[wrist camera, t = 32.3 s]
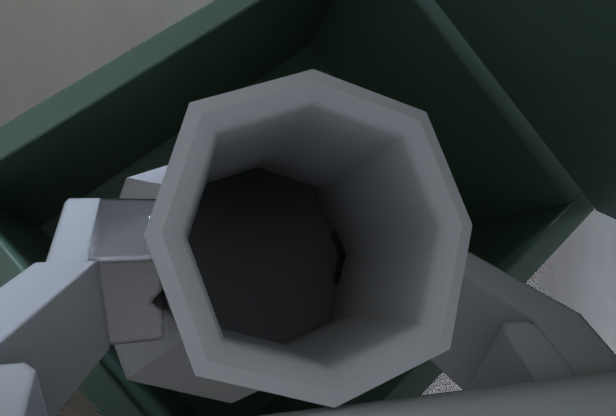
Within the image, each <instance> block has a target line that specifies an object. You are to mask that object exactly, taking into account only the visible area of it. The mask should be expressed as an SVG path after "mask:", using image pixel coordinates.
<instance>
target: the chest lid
mask: <svg viewBox="0 0 616 416" xmlns="http://www.w3.org/2000/svg"><path fill="white" fill-rule="evenodd" d="M435 1H436V3H437V4H438V5H439V6H440V8H441V9H442V10H443V12H444V13H445V14H446V16H447V17H448V18H449V19H450V21H451V22H452V23H453V25H454V26H455V27H456V28H457V30H458V31H459V32H460V34H461V35H462V36H463V38H464V39H465V40H466V41H467V43H468V44H469V45H470V47H471V48H472V49H473V51H474V52H475V53H476V54H477V56H478V57H479V58H480V60H481V61H482V62H483V64H484V65H485V66H486V67H487V69H488V70H489V71H490V73H491V74H492V75H493V76H494V78H495V79H496V80H497V82H498V83H499V84H500V86H501V87H502V88H503V89H504V91H505V92H506V93H507V95H508V96H509V97H510V99H511V100H512V101H513V102H514V104H515V105H516V106H517V108H518V109H519V110H520V111H521V113H522V114H523V115H524V117H525V118H526V119H527V121H528V122H529V123H530V124H531V126H532V127H533V128H534V130H535V131H536V132H537V134H538V135H539V136H540V137H541V139H542V140H543V141H544V143H545V144H546V145H547V147H548V148H549V149H550V150H551V152H552V153H553V154H554V156H555V157H556V158H557V159H558V161H559V162H560V163H561V165H562V166H563V167H564V169H565V170H566V171H567V172H568V174H569V175H570V176H571V178H572V179H573V180H574V182H575V183H576V184H577V185H578V187H579V188H580V189H581V191H582V192H583V193H584V195H585V196H586V197H587V198H588V200H589V201H590V202H591V204H592V205H593V206H594V207H595V209H596V210H597V211H599V212H601V213H603V214H605V215H607V216H610V217H612V218H614V219H616V0H435Z"/></svg>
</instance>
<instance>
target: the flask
mask: <svg viewBox="0 0 616 416" xmlns="http://www.w3.org/2000/svg"><path fill="white" fill-rule="evenodd" d="M119 198H130V199H156V201H155V204H154V207H153V210H152V213H151V216H150V219H149V222H148V224H147V227H146V230H145V233H144V237H145V240H146V243H147V246H148V249H149V251H150V254H151V257H152V260H153V262H154V265H155V268H156V271H157V273H158V276H159V279H160V282H161V284H162V287H163V290H164V305H165V313H164V340H156V341H146V342H137V343H127V344H118V345H114V346H115V349H116V352H117V355H118V357H119V360H120V363H121V366H122V369H123V372H124V374H125V377H126V380H130V381H134V382H139V383H143V384H148V385H152V386H157V387H161V388H166V389H170V390H174V391H179V392H183V393H188V394H192V395H197V396H201V397H206V398H210V399H215V400H219V401H223V402H228V403H233V402H235V401H238V400H240V399H242V398H244V397H246V396H248V395H250V394H252V393H254V392H257V391H259V390H260V391H264V392H269V393H273V394H277V395H282V396H286V397H290V398H294V399H299V400H303V401H307V402H312V403H316V404H320V405H325V406H329V407H333V408H335V407H337V406H339V405H341V404H343V403H345V402H347V401H349V400H351V399H353V398H355V397H357V396H359V395H361V394H363V393H365V392H367V391H369V390H371V389H373V388H375V387H377V386H378V385H380V384H382V383H384V382H386V381H388V380H390V379H392V378H394V377H396V376H398V375H400V374H402V373H404V372H406V371H408V370H410V369H412V368H414V367H416V366H418V365H420V364H422V363H424V362H426V361H428V360H429V359H431V358H433V357H435V356H437V355H439V354H441V353H443V352H445V351H447V350H449V349H450V346H451V341H452V335H453V330H454V324H455V319H456V313H457V308H458V302H459V297H460V291H461V286H462V280H463V275H464V269H465V264H466V258H467V253H468V247H469V242H470V236H471V231H472V222H471V220H470V217H469V215H468V213H467V210H466V208H465V205H464V203H463V200H462V198H461V196H460V193H459V191H458V188H457V186H456V183H455V181H454V178H453V176H452V174H451V171H450V169H449V166H448V164H447V161H446V159H445V156H444V154H443V152H442V149H441V147H440V144H439V142H438V139H437V137H436V135H435V132H434V130H433V127H432V125H431V122H430V120H429V117H428V115H427V113H426V112H425V111H423V110H420V109H417V108H415V107H412V106H409V105H407V104H404V103H401V102H399V101H396V100H394V99H391V98H388V97H386V96H383V95H380V94H378V93H375V92H372V91H370V90H367V89H365V88H362V87H359V86H357V85H354V84H351V83H349V82H346V81H343V80H341V79H338V78H336V77H333V76H330V75H328V74H325V73H322V72H320V71H317V70H314V69H312V70H308V71H304V72H300V73H297V74H293V75H289V76H286V77H282V78H278V79H275V80H271V81H267V82H263V83H260V84H256V85H252V86H249V87H245V88H241V89H238V90H234V91H230V92H227V93H223V94H219V95H215V96H212V97H208V98H204V99H201V100H197V101H193V102H190V103H189V105H188V108H187V111H186V114H185V117H184V120H183V123H182V126H181V129H180V132H179V135H178V137H177V140H176V143H175V146H174V149H173V152H172V155H171V158H170V161H169V164H168V165H167V166H163V167H160V168H157V169H153V170H150V171H147V172H144V173H140V174H137V175H134V176H131V177H127V178H126V180H125V183H124V186H123V189H122V191H121V194H120V197H119ZM334 230H336V232H337V234H338V236H339V239H340V241H341V243H342V245H343V248H344V250H345V252H346V258H345V261H344V265H343V269H342V273H341V277H340V281H339V285H337V284H336V283H334V282H333V280H332V277H331V274H330V271H329V266H328V244H329V238H330V234H331V233H332V232H333V231H334Z"/></svg>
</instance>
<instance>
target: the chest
mask: <svg viewBox="0 0 616 416" xmlns="http://www.w3.org/2000/svg"><path fill="white" fill-rule="evenodd" d="M312 69H314V70H317V71H320V72H322V73H325V74H328V75H330V76H333V77H336V78H338V79H341V80H343V81H346V82H349V83H351V84H354V85H357V86H359V87H362V88H365V89H367V90H370V91H372V92H375V93H378V94H380V95H383V96H386V97H388V98H391V99H394V100H396V101H399V102H401V103H404V104H407V105H409V106H412V107H415V108H417V109H420V110H423V111H425V112H426V113H427V115H428V117H429V120H430V122H431V125H432V127H433V130H434V132H435V135H436V137H437V139H438V142H439V144H440V147H441V149H442V152H443V154H444V156H445V159H446V161H447V164H448V166H449V169H450V171H451V174H452V176H453V178H454V181H455V183H456V186H457V188H458V191H459V193H460V196H461V198H462V200H463V203H464V205H465V208H466V210H467V213H468V215H469V217H470V220H471V222H472V231H471V236H470V242H469V247H468V252H470V253H472V254H473V255H475V256H477V257H479V258H481V259H482V260H484V261H486V262H488V263H490V264H491V265H493V266H495V267H497V268H498V269H500V270H502V271H504V272H506V273H507V274H509V275H511V276H513V277H515V278H516V279H518V280H520V281H522V282H523V283H526V282H527V281H528V279H529V278H530V277H531V276H532V275H533V274H534V273H535V272H536V271H537V270H538V269H539V268H540V267H541V265H542V264H543V263H544V262H545V261H546V260H547V259H548V258H549V257H550V256H551V255H552V254H553V253H554V251H555V250H556V249H557V248H558V247H559V246H560V245H561V244H562V243H563V242H564V241H565V240H566V239H567V238H568V236H569V235H570V234H571V233H572V232H573V231H574V230H575V229H576V228H577V227H578V226H579V225H580V224H581V222H582V221H583V220H584V219H585V218H586V217H587V216H588V215H589V214H590V213H591V212H592V211H593V210H594V208H595V207H594V206H593V205H592V204H591V202H590V201H589V200H588V198H587V197H586V196H585V195H584V193H583V192H581V189H580V188H579V187H578V185H577V184H576V183H575V182H574V180H573V179H572V178H571V176H570V175H569V174H568V172H567V171H566V170H565V169H564V167H563V166H562V165H561V163H560V162H559V161H558V159H557V158H556V157H555V156H554V154H553V153H552V152H551V150H550V149H549V148H548V147H547V145H546V144H545V143H544V141H543V140H542V139H541V137H540V136H539V135H538V134H537V132H536V131H535V130H534V128H533V127H532V126H531V124H530V123H529V122H528V121H527V119H526V118H525V117H524V115H523V114H522V113H521V111H520V110H519V109H518V108H517V106H516V105H515V104H514V102H513V101H512V100H511V99H510V97H509V96H508V95H507V93H506V92H505V91H504V89H503V88H502V87H501V86H500V84H499V83H498V82H497V80H496V79H495V78H494V76H493V75H492V74H491V73H490V71H489V70H488V69H487V67H486V66H485V65H484V64H483V62H482V61H481V60H480V58H479V57H478V56H477V54H476V53H475V52H474V51H473V49H472V48H471V47H470V45H469V44H468V43H467V41H466V40H465V39H464V38H463V36H462V35H461V34H460V32H459V31H458V30H457V28H456V27H455V26H454V25H453V23H452V22H451V21H450V19H449V18H448V17H447V16H446V14H445V13H444V12H443V10H442V9H441V8H440V6H439V5H438V4H437V3H436V1H435V0H214V1H213V2H211V3H209V4H208V5H206V6H204V7H202V8H201V9H199V10H197V11H196V12H194V13H192V14H191V15H189V16H187V17H186V18H184V19H182V20H180V21H179V22H177V23H175V24H174V25H172V26H170V27H169V28H167V29H165V30H164V31H162V32H160V33H158V34H157V35H155V36H153V37H152V38H150V39H148V40H147V41H145V42H143V43H142V44H140V45H138V46H136V47H135V48H133V49H131V50H130V51H128V52H126V53H125V54H123V55H121V56H120V57H118V58H116V59H115V60H113V61H111V62H109V63H108V64H106V65H104V66H103V67H101V68H99V69H98V70H96V71H94V72H93V73H91V74H89V75H87V76H86V77H84V78H82V79H81V80H79V81H77V82H76V83H74V84H72V85H71V86H69V87H67V88H65V89H64V90H62V91H60V92H59V93H57V94H55V95H54V96H52V97H50V98H49V99H47V100H45V101H43V102H42V103H40V104H38V105H37V106H35V107H33V108H32V109H30V110H28V111H27V112H25V113H23V114H22V115H20V116H18V117H16V118H15V119H13V120H11V121H10V122H8V123H6V124H5V125H3V126H1V127H0V287H2V286H3V285H4V284H6V283H7V282H9V281H10V280H11V279H13V278H14V277H16V276H17V275H18V274H20V273H21V272H23V271H24V270H26V269H27V268H28V267H30V266H31V265H33V264H34V263H38V262H46V259H47V256H48V253H49V250H50V247H51V244H52V240H53V237H54V234H55V231H56V228H57V225H58V222H59V219H60V215H61V212H62V209H63V206H64V203H65V202H66V201H67V200H68V199H69V198H100V199H102V198H119V197H120V194H121V191H122V189H123V186H124V183H125V180H126V178H127V177H131V176H134V175H137V174H140V173H144V172H147V171H150V170H153V169H157V168H160V167H163V166H167V165H168V164H169V161H170V158H171V155H172V152H173V149H174V146H175V143H176V140H177V137H178V135H179V132H180V129H181V126H182V123H183V120H184V117H185V114H186V111H187V108H188V105H189V103H190V102H193V101H197V100H201V99H204V98H208V97H212V96H215V95H219V94H223V93H227V92H230V91H234V90H238V89H241V88H245V87H249V86H252V85H256V84H260V83H263V82H267V81H271V80H275V79H278V78H282V77H286V76H289V75H293V74H297V73H300V72H304V71H308V70H312ZM109 347H110V349H109V350H108V351H107V352H106V354H105V355H104V356H103V357H102V359H101V360H100V361H99V362H98V364H97V365H96V366H95V368H94V369H93V370H92V371H91V373H90V374H89V375H88V376H87V378H86V379H85V380H84V382H83V383H82V384H81V385H80V387H79V388H78V389H79V390H80V391H81V392H82V394H83V395H84V396H85V397H86V398H87V400H88V401H89V402H90V403H91V404H92V406H93V407H94V408H95V409H96V410H97V412H98V413H99V414H100V415H101V416H259V415H267V414H275V413H284V412H292V411H300V410H308V409H316V408H324V407H329V406H325V405H320V404H316V403H312V402H307V401H303V400H299V399H294V398H290V397H286V396H282V395H277V394H273V393H269V392H264V391H260V390H259V391H257V392H254V393H252V394H250V395H248V396H246V397H244V398H242V399H240V400H238V401H235V402H233V403H228V402H223V401H219V400H215V399H210V398H206V397H201V396H197V395H192V394H188V393H183V392H179V391H174V390H170V389H166V388H161V387H157V386H152V385H148V384H143V383H139V382H134V381H130V380H126V377H125V374H124V372H123V369H122V366H121V363H120V360H119V357H118V355H117V352H116V349H115V346H114V345H109ZM442 372H443V371H442V370H441V369H440V368H439V367H437V366H436V365H435V364H434V363H433V362H432V361H431V360H430V359H429V360H428V361H426V362H424V363H422V364H420V365H418V366H416V367H414V368H412V369H410V370H408V371H406V372H404V373H402V374H400V375H398V376H396V377H394V378H392V379H390V380H388V381H386V382H384V383H382V384H380V385H378V386H377V387H375V388H373V389H371V390H369V391H367V392H365V393H363V394H361V395H359V396H357V397H355V398H353V399H351V400H349V401H347V402H345V403H343V404H341V405H348V404H356V403H364V402H372V401H381V400H389V399H397V398H405V397H413V396H421V394H422V393H423V392H424V391H425V390H426V389H427V388H428V387H429V386H430V385H431V384H432V383H433V382H434V380H435V379H436V378H437V377H438V376H439V375H440V374H441V373H442ZM339 406H340V405H339Z"/></svg>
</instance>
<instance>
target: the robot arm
mask: <svg viewBox="0 0 616 416" xmlns="http://www.w3.org/2000/svg"><path fill="white" fill-rule="evenodd" d="M155 201H156V199H130V198H102V199H100V198H69V199H68V200H67V201H66V202H65V203H64V206H63V209H62V212H61V215H60V219H59V222H58V225H57V228H56V231H55V234H54V237H53V240H52V244H51V247H50V250H49V253H48V256H47V259H46V262H38V263H34V264H33V265H31V266H30V267H28V268H27V269H26V270H24V271H23V272H21V273H20V274H18V275H17V276H16V277H14V278H13V279H11V280H10V281H9V282H7V283H6V284H4V285H3V286H2V287H0V416H57V415H58V413H59V412H60V411H61V410H62V408H63V407H64V406H65V404H66V403H67V402H68V401H69V399H70V398H71V397H72V396H73V394H74V393H75V392H76V390H77V389H78V388H79V387H80V385H81V384H82V383H83V382H84V380H85V379H86V378H87V376H88V375H89V374H90V373H91V371H92V370H93V369H94V368H95V366H96V365H97V364H98V362H99V361H100V360H101V359H102V357H103V356H104V355H105V354H106V352H107V351H108V350H109V349H110V347H109V345H118V344H127V343H137V342H146V341H156V340H164V313H165V305H164V290H163V287H162V284H161V282H160V279H159V276H158V273H157V271H156V268H155V265H154V262H153V260H152V257H151V254H150V251H149V249H148V246H147V243H146V240H145V237H144V233H145V230H146V227H147V224H148V222H149V219H150V216H151V213H152V210H153V207H154V204H155ZM345 258H346V252H345V250H344V248H343V245H342V243H341V241H340V239H339V236H338V234H337V232H336V230H334V231H333V232H332V233H331V234H330V238H329V244H328V266H329V271H330V274H331V277H332V280H333V282H334V283H336V284H337V285H339V281H340V277H341V273H342V269H343V265H344V261H345ZM430 360H431V361H432V362H433V363H434V364H435V365H436V366H437V367H439V368H440V369H441V370H442V371H443V372H444V373H445V374H446V375H447V376H449V377H450V378H451V379H452V380H453V381H454V382H455V383H456V384H457V385H458V386H460V387H461V388H462V389H463V390H461V391H453V392H445V393H437V394H429V395H421V396H413V397H405V398H397V399H389V400H381V401H372V402H364V403H356V404H348V405H340V406H337V407H335V408H333V407H324V408H316V409H308V410H300V411H292V412H284V413H275V414H267V415H259V416H616V355H615V353H614V352H613V351H612V350H611V349H610V348H609V347H608V345H607V344H606V343H605V342H604V341H603V340H602V339H601V337H600V336H599V335H598V334H597V333H596V332H595V331H594V329H593V328H592V327H591V326H590V325H589V324H588V323H587V321H586V320H585V319H584V318H583V317H582V316H581V315H580V314H579V313H577V312H575V311H574V310H572V309H570V308H568V307H566V306H565V305H563V304H561V303H559V302H557V301H556V300H554V299H552V298H550V297H549V296H547V295H545V294H543V293H541V292H540V291H538V290H536V289H534V288H532V287H531V286H529V285H527V284H525V283H523V282H522V281H520V280H518V279H516V278H515V277H513V276H511V275H509V274H507V273H506V272H504V271H502V270H500V269H498V268H497V267H495V266H493V265H491V264H490V263H488V262H486V261H484V260H482V259H481V258H479V257H477V256H475V255H473V254H472V253H470V252H468V253H467V258H466V264H465V269H464V275H463V280H462V286H461V291H460V297H459V302H458V308H457V313H456V319H455V324H454V330H453V335H452V341H451V346H450V349H449V350H447V351H445V352H443V353H441V354H439V355H437V356H435V357H433V358H431V359H430Z"/></svg>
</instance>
